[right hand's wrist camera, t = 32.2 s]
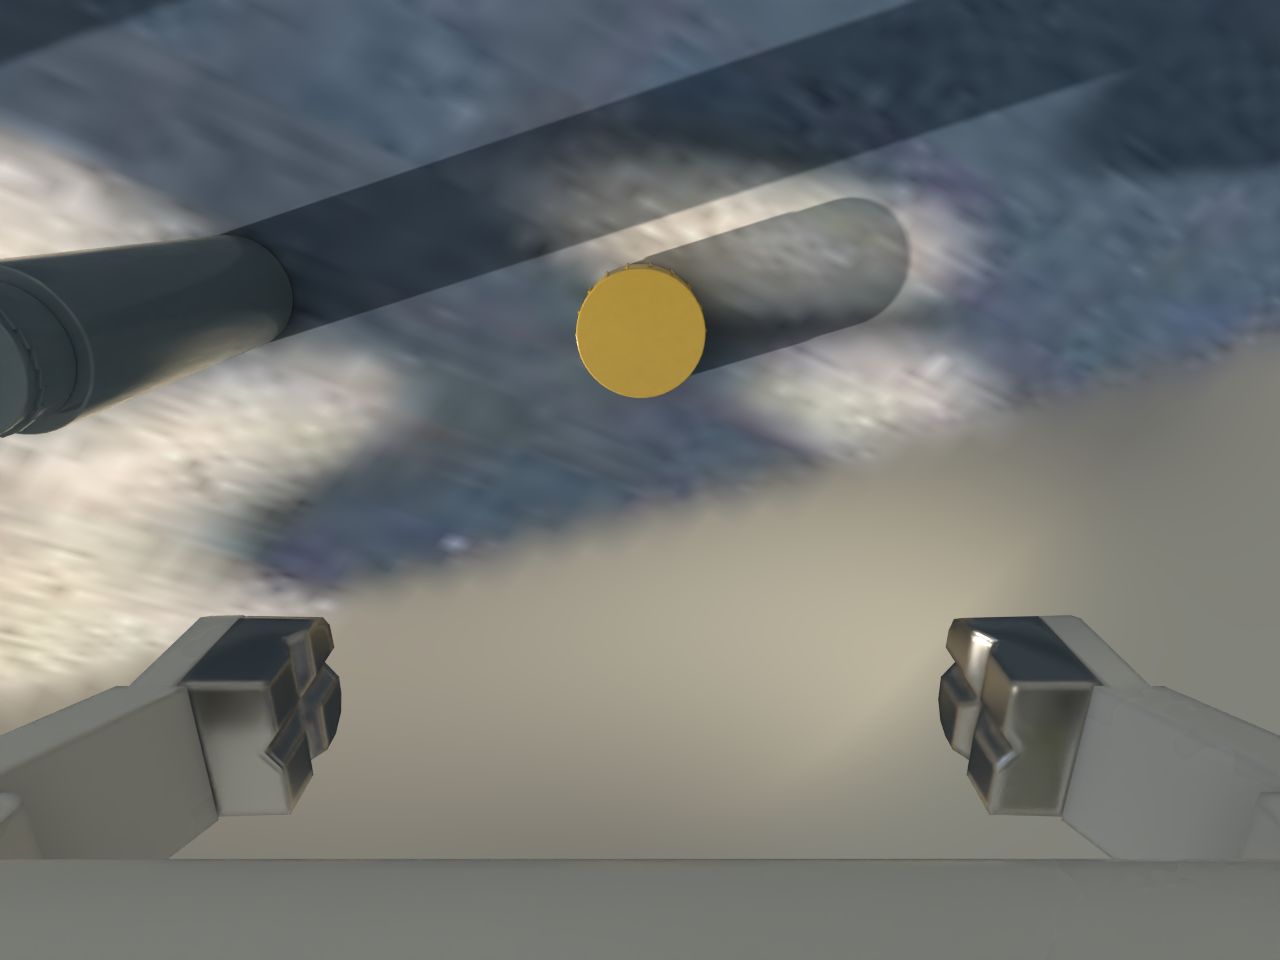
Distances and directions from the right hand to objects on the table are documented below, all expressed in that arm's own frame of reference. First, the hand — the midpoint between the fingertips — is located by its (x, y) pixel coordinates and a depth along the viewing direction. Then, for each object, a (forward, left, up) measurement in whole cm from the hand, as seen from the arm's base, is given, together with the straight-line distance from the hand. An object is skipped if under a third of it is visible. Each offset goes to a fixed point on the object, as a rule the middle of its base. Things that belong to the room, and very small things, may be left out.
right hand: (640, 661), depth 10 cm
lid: (0, 0, -25) cm, 25 cm away
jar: (+17, -6, -27) cm, 32 cm away
